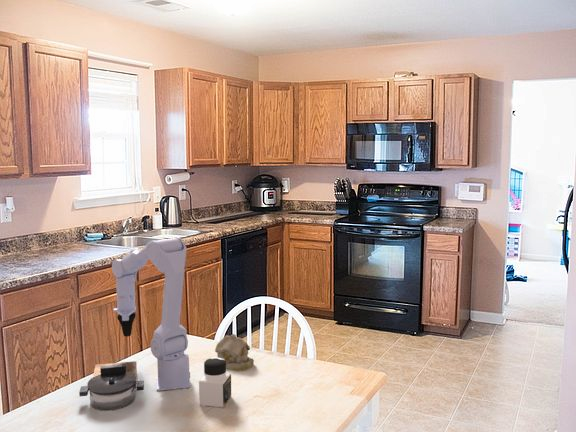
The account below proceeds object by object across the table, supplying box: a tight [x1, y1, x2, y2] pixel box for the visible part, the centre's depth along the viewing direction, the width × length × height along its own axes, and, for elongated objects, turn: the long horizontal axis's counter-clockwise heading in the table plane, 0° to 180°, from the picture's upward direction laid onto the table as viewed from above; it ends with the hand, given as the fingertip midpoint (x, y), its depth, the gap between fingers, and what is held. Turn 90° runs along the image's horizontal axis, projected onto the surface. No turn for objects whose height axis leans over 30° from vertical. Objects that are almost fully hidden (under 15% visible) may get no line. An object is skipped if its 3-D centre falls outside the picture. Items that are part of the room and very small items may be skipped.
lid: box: [86, 364, 137, 394], centre depth 154 cm, size 13×13×3 cm
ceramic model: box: [214, 333, 255, 372], centre depth 181 cm, size 14×11×10 cm
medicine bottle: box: [198, 356, 232, 408], centre depth 154 cm, size 7×7×12 cm
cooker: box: [78, 360, 145, 412], centre depth 160 cm, size 17×22×4 cm
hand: (127, 335), depth 181 cm, fingers closed
